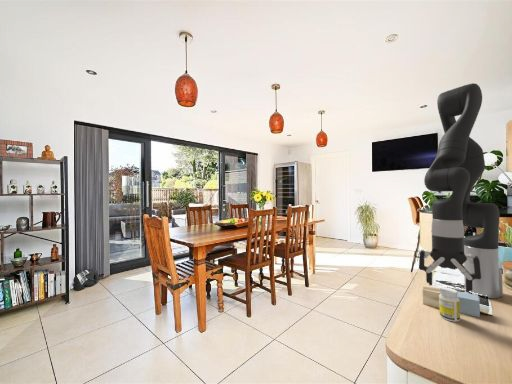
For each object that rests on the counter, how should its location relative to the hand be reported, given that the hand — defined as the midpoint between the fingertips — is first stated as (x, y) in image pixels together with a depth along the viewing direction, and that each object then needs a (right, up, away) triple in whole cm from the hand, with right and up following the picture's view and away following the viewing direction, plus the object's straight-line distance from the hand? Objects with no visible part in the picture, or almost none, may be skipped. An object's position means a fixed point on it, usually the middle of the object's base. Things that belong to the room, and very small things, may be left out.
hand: (448, 287), depth 70 cm
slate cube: (+9, -9, +3) cm, 13 cm away
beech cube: (+2, -9, +9) cm, 13 cm away
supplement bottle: (0, -9, 0) cm, 9 cm away
